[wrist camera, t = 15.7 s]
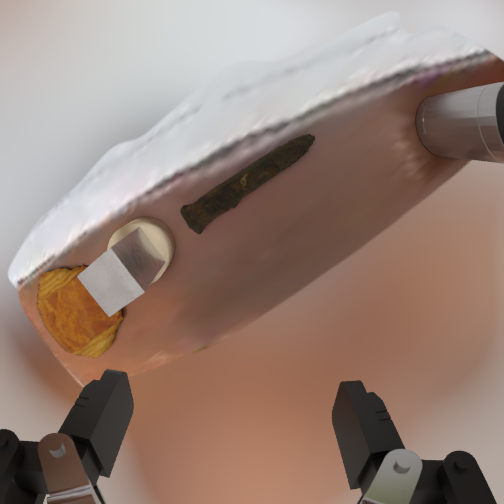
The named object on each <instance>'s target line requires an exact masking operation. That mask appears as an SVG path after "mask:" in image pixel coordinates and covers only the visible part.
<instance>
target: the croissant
mask: <svg viewBox="0 0 504 504" xmlns="http://www.w3.org/2000/svg"><path fill="white" fill-rule="evenodd" d="M86 268H87V267H85V266H83V265H81V267H75V268H73V269H72V270H69V269H67V268H64V269H63V268H62V269H61V268H57V269H55V270H53V271H51V272H46V273H44V274H43V275H42V276H41V279H40V283H39V285H38V294H37V303H36V306H37V309H38V311H39V314H40V316H41V318H42V321H43V323H44V325H45V327H46V328H47V330H48V331H49V333H50V334H51V335H52V337H53V338H54V339H55V340H56V342H57V343H58V344H59V345H60V346H61V347H62V348H63V349H64V350H65V351H66V352H68V353H73V354H75V355H77V356H81V355H82V356H86V357H88V358H89V357H91V358H94V357H98V356H100V355H101V354H103V353H104V352H105V351H106V350H108V348H109V347H110V346H111V345H112V344H113V342H114V337H115V331H116V330H117V328H118V326H119V324H120V322H121V321H123V317H122V311H121V309H120V310H119V311H117V312H116V313H114V314H113V315H112V316H110V317H109V316H108V315H107V314H106V313H105V312H104V310H103V309H102V308H101V307H100V305H99V304H98V303H97V302H96V301H95V299H94V298H93V297H92V295H91V294H90V293H89V292H88V290H87V289H86V288H85V286H84V285H83V284H82V283H81V281H80V280H79V279H78V277H77V276H78V275H79V274H80V273H81V272H83V271H84V270H85V269H86Z"/></svg>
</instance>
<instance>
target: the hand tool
mask: <svg viewBox="0 0 504 504" xmlns="http://www.w3.org/2000/svg"><path fill="white" fill-rule="evenodd" d="M314 140H315V136H312V135H310V134H308V135H304V136H300V137H298V138H296V139H293V140H291V141H289V142H288V143H287V144H285V145H283V146H280V147H278V148H276V149H274V150H273V151H271V152H270V153H269V154H267V155H266V156H264V157H262V158H260V159H259V160H257V161H256V162H254V163H252V164H251V165H249V166H248V167H246V168H245V169H243V170H242V171H240V172H238V173H237V174H235V175H234V176H232V177H231V178H229V179H228V180H226V181H225V182H223V183H222V184H220V185H218V186H217V187H215V188H214V189H213V190H211V191H210V192H208V193H207V194H206V195H204V196H203V197H201V198H200V199H198V200H197V201H196V202H195V203H193V204H192V205H189V206H183V207H182V208H181V214H182V216H183V218H184V219H185V221H186V223H187V224H188V226H189V228H191V229H192V230H194V231H195V232H196V233H197V234H201V233H202V231H203V228H204V227H205V226H206V225H207V224H208V223H210V222H211V220H213V219H214V218H215V217H217V216H219V215H220V214H222V213H224V212H225V211H228V210H229V209H230V208H234V207H236V206H237V204H238V203H239V201H240V200H241V199H242V198H243V197H244V196H246V195H247V194H249V193H250V192H252V191H253V190H255V189H256V188H257V187H259V186H260V185H261V184H263V183H264V182H266V181H267V180H268V179H270V178H272V177H273V176H275V175H276V174H278V173H279V172H280V171H281V170H284V169H286V168H287V167H289V166H291V165H292V164H293V163H295V162H296V161H297V160H298V159H299V158H301V157H302V156H303V155H304V154H305V153H306V152H307V151H308V149H309V147H310V146H311V145H312V143H313V141H314Z"/></svg>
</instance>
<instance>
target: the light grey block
mask: <svg viewBox="0 0 504 504" xmlns="http://www.w3.org/2000/svg"><path fill="white" fill-rule="evenodd" d="M165 263H166V261H165V260H164V258H163V257H162V256H161V254H160V253H159V252H158V250H157V249H156V248H155V246H154V245H153V244H152V242H151V241H150V240H149V238H148V237H147V236H146V234H145V233H144V231H143V230H142V229H141V227H140V226H139V227H138V228H137V229H135V230H134V231H132V232H131V233H130V234H128V235H127V236H126V237H124V238H123V239H121V240H120V241H119V242H117V243H116V244H115V245H113V246H112V247H111V248H109V249H108V250H107V251H106V252H105V253H103V254H102V255H101V256H100V257H99V258H98V259H96V260H95V261H94V262H93V263H92V264H91V265H89V266H88V267H87V268H86V269H85V270H84V271H83V272H81V273H80V274H79V275H78V276H77V277H78V279H79V280H80V281H81V283H82V284H83V285H84V286H85V288H86V289H87V290H88V292H89V293H90V294H91V295H92V297H93V298H94V299H95V301H96V302H97V303H98V304H99V305H100V307H101V308H102V309H103V310H104V312H105V313H106V314H107V315H108V316H109V317H110V316H112V315H113V314H114V313H116V312H117V311H119V310H120V309H121V308H123V307H124V306H126V305H127V304H129V303H130V302H131V301H133V300H134V299H136V298H137V297H138V296H140V295H141V294H143V293H144V292H145V291H146V289H147V288H148V287H149V285H150V284H151V282H152V281H153V279H154V278H155V277H156V275H157V274H158V272H159V271H160V270H161V268H162V267H163V265H164V264H165Z"/></svg>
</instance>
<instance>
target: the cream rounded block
mask: <svg viewBox="0 0 504 504" xmlns="http://www.w3.org/2000/svg"><path fill="white" fill-rule="evenodd" d="M139 226H140V227H141V229H142V230H143V231H144V233H145V234H146V236H147V237H148V238H149V240H150V241H151V242H152V244H153V245H154V246H155V248H156V249H157V250H158V252H159V253H160V254H161V256H162V257H163V258H164V260H165V261H166V263H165V264H164V265H163V267H162V268H161V270H160V271H159V272H158V274H157V275H156V277H155V278H154V279H153V281H152V282H151V284H152V283H154V282H155V281H157V280H158V279H159V278H160V277H161V275H162V274H163V272H164V271H165V269H166V268H167V266H168V265H169V264H170V262H171V260H172V259H173V256H174V252H175V241H174V238H173V235H172V233H171V231H170V230H169V228H168V227H167V226H166V225H165V224H164V223H163V222H161V221H160V220H158V219H155V218H152V217H140V218H137V219H134V220H133V221H131V222H130V223H128V224H126V225H125V226H123V227H122V228H120V229H118V230H117V231H116V232H115V233H114V234H113V236H112V237H111V239H110V241H109V244H108V249H109V248H111V247H112V246H113V245H115V244H116V243H117V242H119V241H120V240H121V239H123V238H124V237H126V236H127V235H128V234H130V233H131V232H132V231H134V230H135V229H137V228H138V227H139Z"/></svg>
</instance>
